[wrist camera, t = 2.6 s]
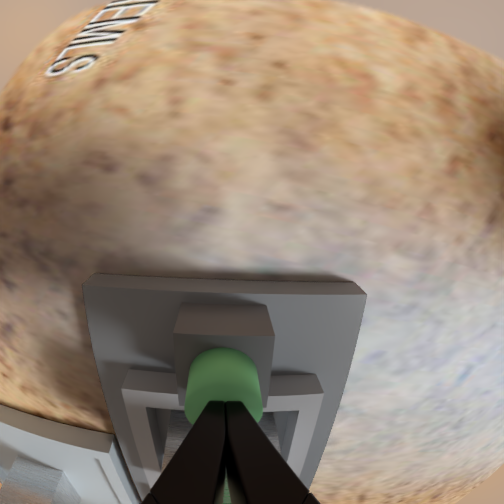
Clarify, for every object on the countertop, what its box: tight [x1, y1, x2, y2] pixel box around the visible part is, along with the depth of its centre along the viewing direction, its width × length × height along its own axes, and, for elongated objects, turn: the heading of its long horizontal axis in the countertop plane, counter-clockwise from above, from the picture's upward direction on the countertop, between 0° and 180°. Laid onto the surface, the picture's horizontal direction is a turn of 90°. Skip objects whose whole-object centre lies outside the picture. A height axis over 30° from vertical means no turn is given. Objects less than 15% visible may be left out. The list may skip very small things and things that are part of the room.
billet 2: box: [161, 409, 282, 504], centre depth 9 cm, size 4×4×6 cm
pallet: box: [82, 273, 367, 501], centre depth 12 cm, size 20×10×3 cm, turn 177°
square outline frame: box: [0, 404, 141, 504], centre depth 14 cm, size 14×14×1 cm
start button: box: [184, 347, 263, 425], centre depth 8 cm, size 2×2×2 cm
